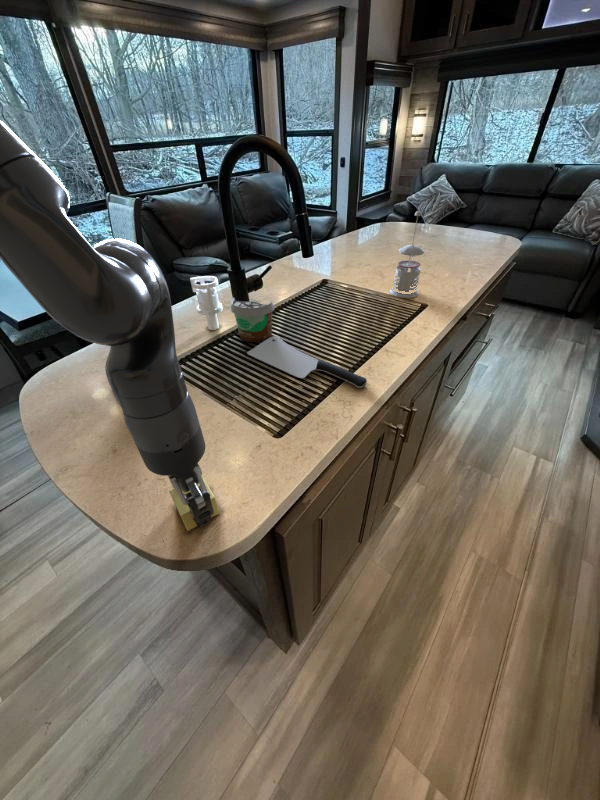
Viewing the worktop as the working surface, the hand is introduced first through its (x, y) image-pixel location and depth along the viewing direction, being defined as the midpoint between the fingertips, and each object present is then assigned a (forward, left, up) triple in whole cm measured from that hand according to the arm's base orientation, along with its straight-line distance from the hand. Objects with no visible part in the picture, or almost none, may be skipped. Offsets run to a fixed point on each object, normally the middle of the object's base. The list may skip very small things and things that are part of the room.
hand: (197, 508), depth 50 cm
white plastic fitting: (-20, +58, -1) cm, 61 cm away
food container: (-7, +53, -1) cm, 54 cm away
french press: (+37, +93, -1) cm, 100 cm away
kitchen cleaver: (+10, +41, -1) cm, 42 cm away
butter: (0, 0, 0) cm, 0 cm away
